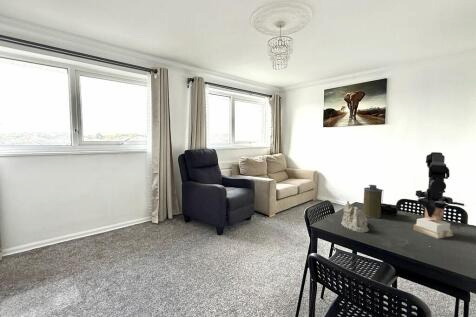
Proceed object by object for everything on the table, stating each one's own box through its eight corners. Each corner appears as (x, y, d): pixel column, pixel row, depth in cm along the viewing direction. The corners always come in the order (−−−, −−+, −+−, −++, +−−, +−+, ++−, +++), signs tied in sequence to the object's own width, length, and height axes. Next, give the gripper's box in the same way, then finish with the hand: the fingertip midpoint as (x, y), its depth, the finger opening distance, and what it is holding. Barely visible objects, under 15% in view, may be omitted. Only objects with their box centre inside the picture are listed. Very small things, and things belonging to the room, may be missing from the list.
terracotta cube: (431, 216, 129) (432, 206, 129) (442, 219, 124) (443, 209, 124) (424, 217, 128) (425, 207, 127) (435, 220, 122) (436, 210, 122)
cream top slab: (429, 222, 133) (429, 216, 132) (449, 229, 123) (450, 223, 123) (416, 224, 129) (417, 218, 129) (436, 232, 120) (437, 225, 120)
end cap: (397, 214, 155) (398, 204, 155) (397, 217, 150) (398, 207, 149) (379, 211, 161) (380, 202, 160) (379, 214, 155) (379, 204, 154)
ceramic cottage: (357, 233, 125) (359, 205, 124) (335, 223, 140) (337, 198, 140) (379, 231, 130) (381, 204, 129) (355, 222, 146) (357, 198, 145)
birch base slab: (428, 227, 134) (428, 221, 134) (452, 236, 123) (453, 230, 123) (413, 230, 130) (413, 224, 130) (437, 239, 119) (438, 233, 119)
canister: (361, 215, 152) (362, 185, 150) (363, 211, 161) (365, 182, 159) (380, 219, 146) (382, 187, 144) (382, 214, 154) (384, 185, 152)
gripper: (431, 183, 135) (429, 209, 136) (408, 185, 129) (406, 213, 130) (454, 187, 124) (451, 216, 126) (430, 190, 118) (427, 220, 120)
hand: (433, 216), depth 126 cm, fingers closed on terracotta cube, 5 cm apart
